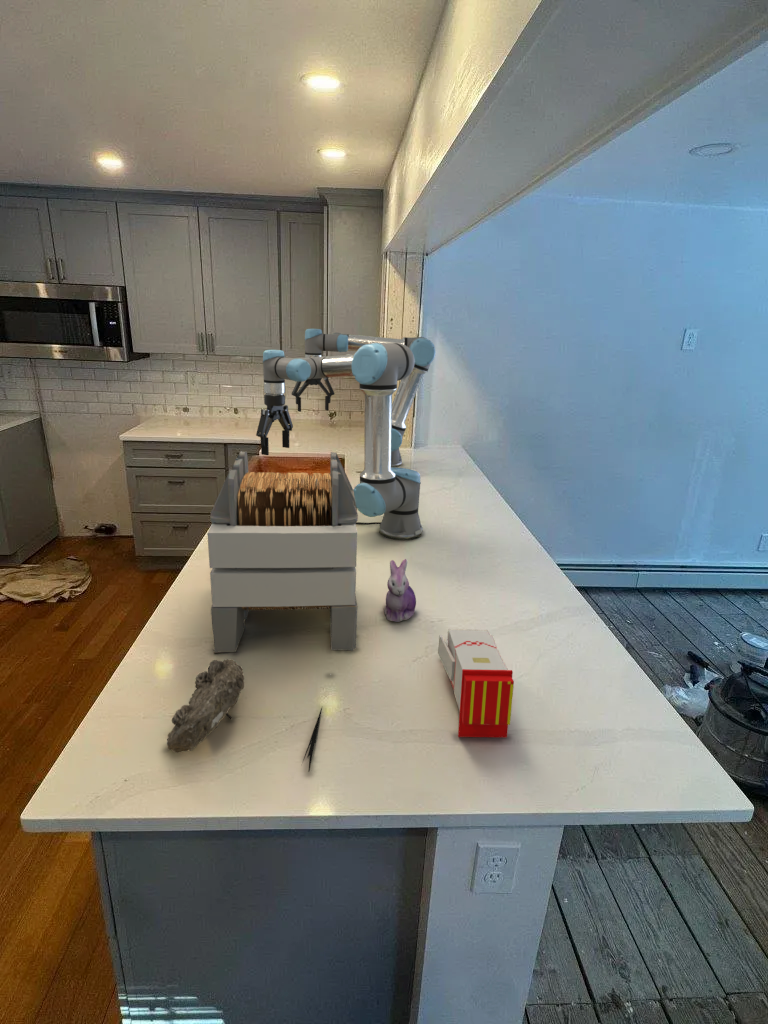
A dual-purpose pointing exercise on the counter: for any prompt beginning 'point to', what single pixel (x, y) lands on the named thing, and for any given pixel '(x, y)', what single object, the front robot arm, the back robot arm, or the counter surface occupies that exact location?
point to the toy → (478, 682)
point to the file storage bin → (283, 549)
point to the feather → (313, 740)
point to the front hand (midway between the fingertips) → (275, 451)
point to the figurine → (399, 594)
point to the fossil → (206, 705)
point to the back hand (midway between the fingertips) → (313, 410)
